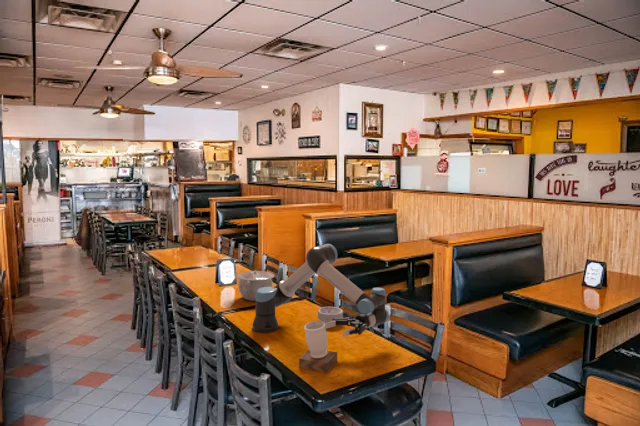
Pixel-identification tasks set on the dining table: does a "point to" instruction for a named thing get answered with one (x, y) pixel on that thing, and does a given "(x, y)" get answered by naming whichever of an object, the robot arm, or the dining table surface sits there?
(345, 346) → the dining table surface
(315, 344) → the jar
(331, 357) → the walnut block
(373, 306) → the robot arm
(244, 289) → the chamber pot
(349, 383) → the dining table surface
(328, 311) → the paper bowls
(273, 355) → the dining table surface
